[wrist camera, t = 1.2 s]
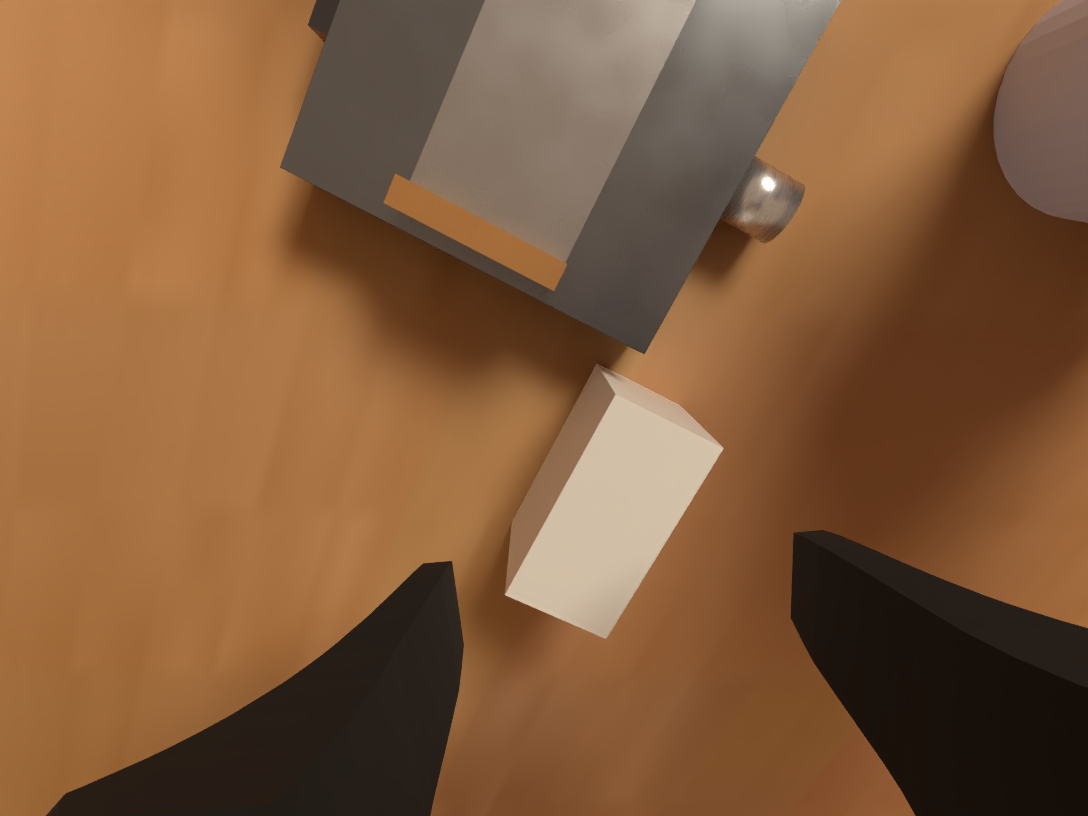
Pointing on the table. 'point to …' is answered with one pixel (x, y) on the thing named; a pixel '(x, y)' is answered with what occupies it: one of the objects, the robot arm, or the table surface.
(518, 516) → the block
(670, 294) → the motor housing
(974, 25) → the table surface
